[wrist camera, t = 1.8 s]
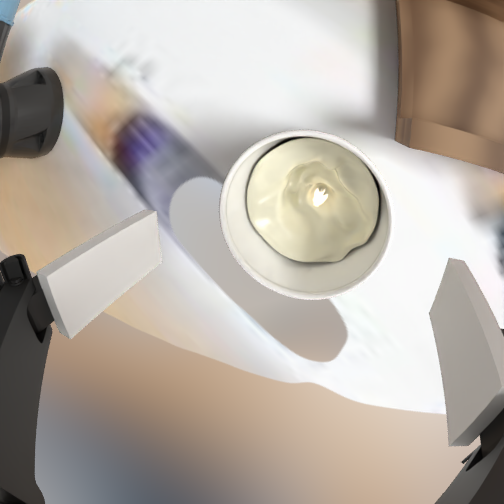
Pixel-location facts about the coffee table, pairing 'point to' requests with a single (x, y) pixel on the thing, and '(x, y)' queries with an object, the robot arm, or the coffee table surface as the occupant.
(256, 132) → the coffee table surface
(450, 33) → the wooden tray
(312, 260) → the candle holder
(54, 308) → the robot arm
